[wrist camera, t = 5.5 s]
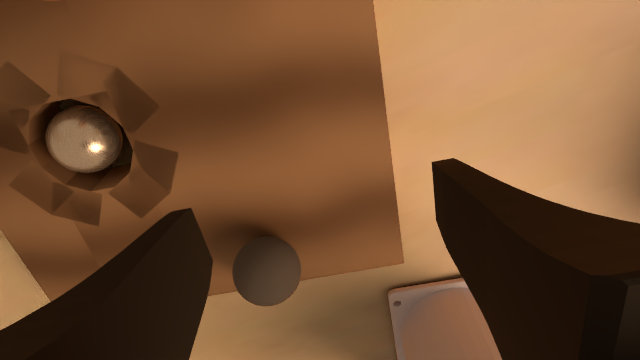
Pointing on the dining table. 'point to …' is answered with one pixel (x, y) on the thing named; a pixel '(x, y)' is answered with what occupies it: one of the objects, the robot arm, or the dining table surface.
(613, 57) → the dining table surface
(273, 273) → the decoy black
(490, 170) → the dining table surface
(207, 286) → the robot arm
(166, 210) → the board
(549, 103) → the dining table surface
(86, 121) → the steel ball
